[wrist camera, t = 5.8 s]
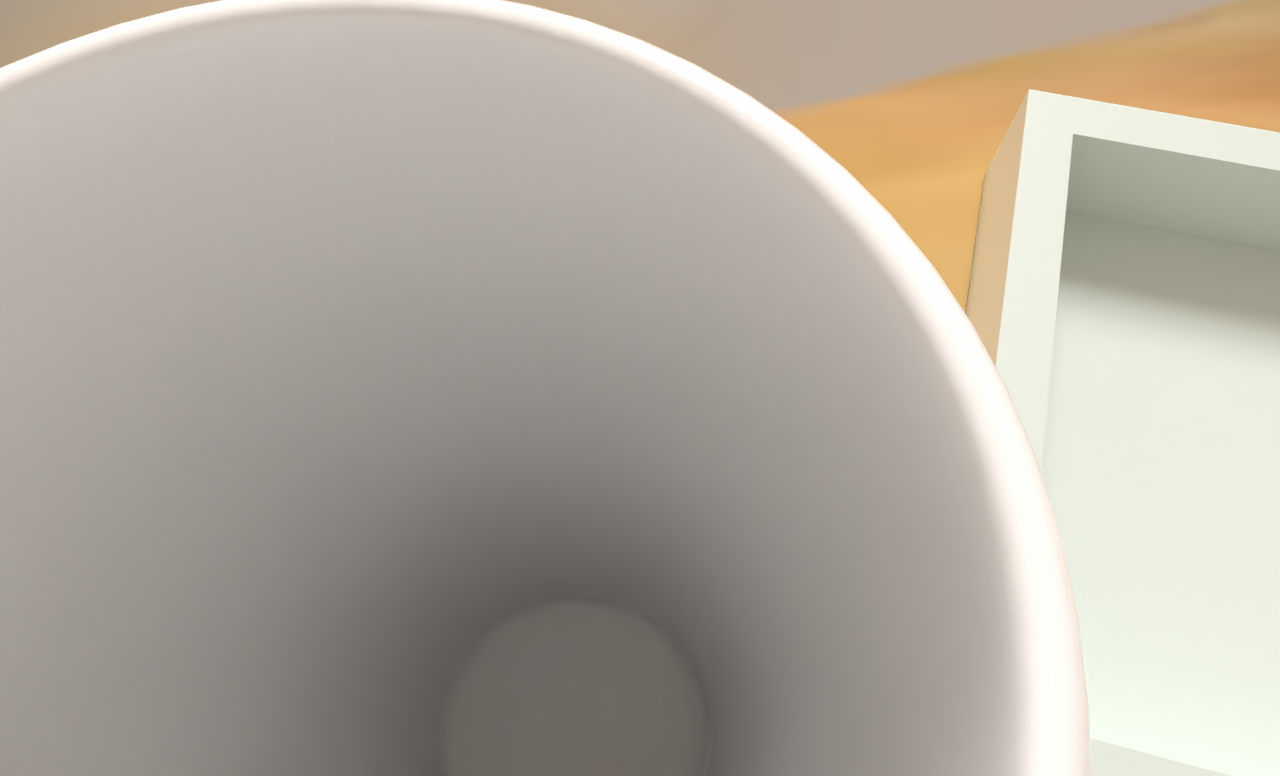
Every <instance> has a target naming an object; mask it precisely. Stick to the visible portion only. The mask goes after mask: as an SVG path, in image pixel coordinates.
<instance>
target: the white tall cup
mask: <svg viewBox="0 0 1280 776" xmlns="http://www.w3.org/2000/svg"><path fill="white" fill-rule="evenodd" d="M0 776H1091V761H1090V710H1089V699H1088V691H1087V682H1086V673H1085V665H1084V656H1083V647H1082V638H1081V630H1080V621H1079V615H1078V611H1077V606H1076V601H1075V597H1074V592H1073V587H1072V582H1071V578H1070V573H1069V568H1068V564H1067V559H1066V554H1065V550H1064V545H1063V540H1062V536H1061V533H1060V529H1059V526H1058V523H1057V520H1056V517H1055V513H1054V510H1053V507H1052V504H1051V501H1050V498H1049V494H1048V491H1047V488H1046V485H1045V482H1044V478H1043V475H1042V472H1041V469H1040V466H1039V463H1038V459H1037V457H1036V455H1035V452H1034V450H1033V448H1032V445H1031V443H1030V441H1029V438H1028V436H1027V433H1026V431H1025V429H1024V426H1023V424H1022V422H1021V419H1020V417H1019V415H1018V412H1017V410H1016V407H1015V405H1014V403H1013V400H1012V398H1011V396H1010V393H1009V391H1008V389H1007V387H1006V385H1005V383H1004V381H1003V379H1002V378H1001V376H1000V374H999V372H998V370H997V368H996V366H995V365H994V363H993V361H992V359H991V357H990V355H989V354H988V352H987V350H986V348H985V346H984V344H983V342H982V341H981V339H980V337H979V335H978V333H977V331H976V329H975V328H974V326H973V324H972V323H971V321H970V320H969V318H968V317H967V315H966V314H965V312H964V311H963V309H962V308H961V306H960V305H959V303H958V302H957V300H956V299H955V297H954V296H953V294H952V293H951V291H950V290H949V288H948V287H947V285H946V284H945V282H944V281H943V279H942V278H941V276H940V275H939V273H938V272H937V271H936V269H935V268H934V266H933V265H932V264H931V263H930V261H929V260H928V259H927V258H926V257H925V255H924V254H923V253H922V252H921V250H920V249H919V248H918V247H917V246H916V244H915V243H914V242H913V241H912V239H911V238H910V237H909V236H908V235H907V233H906V232H905V231H904V230H903V228H902V227H901V226H900V225H899V224H898V222H897V221H896V220H895V219H894V217H893V216H892V215H891V214H890V213H889V212H888V211H887V210H886V209H885V208H884V207H883V206H882V205H881V204H880V203H879V202H878V201H877V200H876V199H875V198H874V197H873V196H872V195H871V194H870V193H869V192H868V191H867V190H866V189H865V188H864V187H863V186H862V185H861V184H860V183H859V182H858V181H857V180H856V179H855V178H854V177H853V176H852V175H851V174H850V173H849V172H848V171H847V170H846V169H845V168H844V167H843V166H842V165H840V164H839V163H838V162H837V161H836V160H834V159H833V158H832V157H831V156H830V155H828V154H827V153H826V152H825V151H824V150H822V149H821V148H820V147H819V146H818V145H817V144H815V143H814V142H813V141H812V140H811V139H809V138H808V137H807V136H806V135H805V134H803V133H802V132H801V131H800V130H799V129H797V128H796V127H794V126H793V125H791V124H790V123H789V122H787V121H786V120H784V119H783V118H781V117H780V116H779V115H777V114H776V113H774V112H773V111H771V110H770V109H769V108H767V107H766V106H764V105H763V104H761V103H760V102H758V101H757V100H756V99H754V98H753V97H751V96H750V95H748V94H746V93H745V92H743V91H741V90H740V89H738V88H736V87H734V86H733V85H731V84H729V83H727V82H725V81H724V80H722V79H720V78H718V77H717V76H715V75H713V74H711V73H710V72H708V71H706V70H704V69H703V68H701V67H699V66H698V65H695V64H693V63H691V62H689V61H686V60H684V59H682V58H680V57H678V56H676V55H674V54H672V53H669V52H667V51H665V50H663V49H661V48H659V47H656V46H654V45H652V44H650V43H648V42H645V41H643V40H641V39H638V38H635V37H632V36H630V35H627V34H624V33H621V32H618V31H616V30H613V29H610V28H607V27H604V26H602V25H599V24H596V23H594V22H591V21H588V20H584V19H581V18H577V17H573V16H569V15H566V14H562V13H558V12H555V11H551V10H547V9H544V8H540V7H536V6H532V5H527V4H522V3H516V2H511V1H506V0H219V1H215V2H209V3H203V4H198V5H193V6H187V7H182V8H178V9H174V10H170V11H167V12H163V13H159V14H155V15H151V16H148V17H144V18H139V19H136V20H132V21H128V22H124V23H121V24H117V25H114V26H112V27H108V28H105V29H103V30H100V31H96V32H93V33H91V34H87V35H84V36H81V37H78V38H75V39H72V40H70V41H66V42H63V43H60V44H58V45H55V46H53V47H50V48H48V49H45V50H43V51H41V52H38V53H36V54H33V55H31V56H28V57H26V58H23V59H21V60H18V61H16V62H13V63H11V64H8V65H6V66H3V67H1V68H0Z"/></svg>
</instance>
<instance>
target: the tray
mask: <svg viewBox="0 0 1280 776" xmlns="http://www.w3.org/2000/svg"><path fill="white" fill-rule="evenodd" d="M965 314H966V315H967V317H968V318H969V320H970V321H971V323H972V324H973V326H974V328H975V329H976V331H977V333H978V335H979V337H980V339H981V341H982V342H983V344H984V346H985V348H986V350H987V352H988V354H989V355H990V357H991V359H992V361H993V363H994V365H995V366H996V368H997V370H998V372H999V374H1000V376H1001V378H1002V379H1003V381H1004V383H1005V385H1006V387H1007V389H1008V391H1009V393H1010V396H1011V398H1012V400H1013V403H1014V405H1015V407H1016V410H1017V412H1018V415H1019V417H1020V419H1021V422H1022V424H1023V426H1024V429H1025V431H1026V433H1027V436H1028V438H1029V441H1030V443H1031V445H1032V448H1033V450H1034V452H1035V455H1036V457H1037V459H1038V463H1039V466H1040V469H1041V472H1042V475H1043V478H1044V482H1045V485H1046V488H1047V491H1048V494H1049V498H1050V501H1051V504H1052V507H1053V510H1054V513H1055V517H1056V520H1057V523H1058V526H1059V529H1060V533H1061V536H1062V540H1063V545H1064V550H1065V554H1066V559H1067V564H1068V568H1069V573H1070V578H1071V582H1072V587H1073V592H1074V597H1075V601H1076V606H1077V611H1078V615H1079V621H1080V630H1081V638H1082V647H1083V656H1084V665H1085V673H1086V682H1087V691H1088V699H1089V710H1090V761H1091V776H1280V133H1279V132H1273V131H1268V130H1262V129H1256V128H1250V127H1244V126H1239V125H1233V124H1227V123H1221V122H1216V121H1210V120H1204V119H1198V118H1192V117H1187V116H1181V115H1175V114H1169V113H1164V112H1158V111H1152V110H1146V109H1140V108H1135V107H1129V106H1123V105H1117V104H1112V103H1106V102H1100V101H1094V100H1088V99H1083V98H1077V97H1071V96H1065V95H1060V94H1054V93H1048V92H1042V91H1037V90H1031V89H1029V90H1028V92H1027V94H1026V96H1025V98H1024V100H1023V102H1022V104H1021V105H1020V107H1019V109H1018V111H1017V113H1016V115H1015V117H1014V119H1013V121H1012V123H1011V125H1010V127H1009V128H1008V130H1007V132H1006V134H1005V136H1004V138H1003V140H1002V142H1001V144H1000V146H999V148H998V150H997V152H996V153H995V155H994V157H993V159H992V161H991V163H990V165H989V167H988V169H987V171H986V173H985V175H984V182H983V189H982V197H981V204H980V211H979V218H978V225H977V233H976V240H975V247H974V254H973V262H972V269H971V276H970V283H969V291H968V298H967V305H966V312H965Z"/></svg>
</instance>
